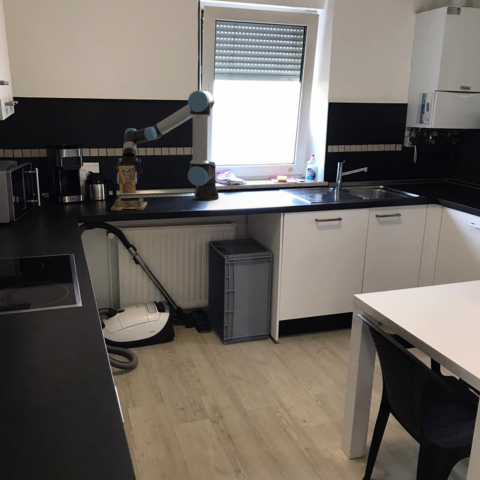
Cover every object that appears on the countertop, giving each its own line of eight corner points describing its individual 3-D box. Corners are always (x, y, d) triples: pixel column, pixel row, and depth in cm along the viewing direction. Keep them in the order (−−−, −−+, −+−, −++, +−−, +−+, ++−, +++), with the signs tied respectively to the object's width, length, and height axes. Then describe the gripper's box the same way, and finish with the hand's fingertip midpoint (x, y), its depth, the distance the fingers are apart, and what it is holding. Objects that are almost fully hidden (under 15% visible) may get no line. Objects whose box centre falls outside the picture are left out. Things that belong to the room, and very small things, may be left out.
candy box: (135, 192, 308) (134, 165, 304) (135, 193, 304) (134, 166, 300) (119, 192, 306) (118, 166, 302) (119, 193, 302) (118, 166, 298)
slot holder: (147, 203, 316) (146, 196, 315) (143, 209, 298) (142, 202, 297) (116, 204, 315) (116, 197, 314) (110, 210, 297) (110, 202, 296)
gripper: (149, 155, 317) (147, 186, 306) (111, 155, 316) (108, 186, 305) (147, 147, 310) (145, 178, 299) (109, 147, 309) (106, 178, 298)
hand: (126, 182), depth 302 cm, fingers closed on candy box, 9 cm apart
